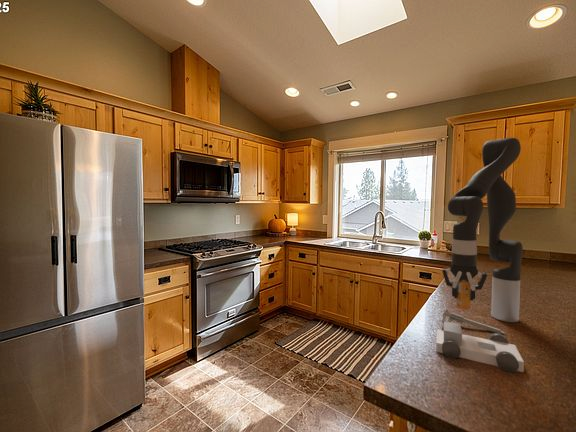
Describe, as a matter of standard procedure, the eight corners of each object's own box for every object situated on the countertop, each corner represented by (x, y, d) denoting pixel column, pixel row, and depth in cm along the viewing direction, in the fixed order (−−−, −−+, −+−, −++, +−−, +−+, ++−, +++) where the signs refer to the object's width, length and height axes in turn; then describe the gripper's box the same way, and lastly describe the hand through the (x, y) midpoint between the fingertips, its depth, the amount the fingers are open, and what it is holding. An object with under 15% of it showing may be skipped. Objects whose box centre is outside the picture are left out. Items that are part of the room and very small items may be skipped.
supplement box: (464, 305, 100) (464, 279, 99) (470, 309, 96) (471, 281, 96) (455, 305, 100) (456, 279, 99) (461, 309, 96) (462, 282, 96)
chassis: (436, 335, 100) (437, 316, 100) (512, 351, 89) (513, 330, 89) (436, 354, 87) (436, 333, 87) (525, 376, 76) (526, 351, 76)
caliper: (442, 323, 110) (442, 308, 110) (442, 322, 111) (442, 307, 111) (505, 335, 101) (506, 318, 100) (504, 334, 102) (505, 317, 101)
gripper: (487, 251, 97) (485, 298, 98) (441, 248, 104) (440, 292, 105) (490, 255, 90) (489, 305, 91) (441, 252, 97) (440, 298, 98)
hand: (463, 298), depth 98 cm, fingers closed on supplement box, 4 cm apart
